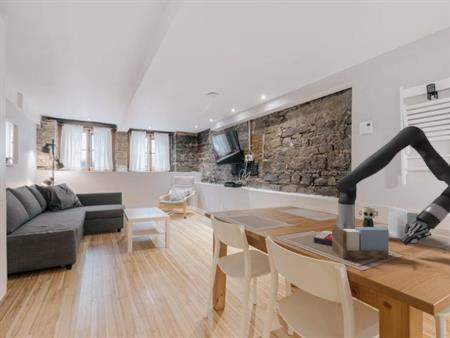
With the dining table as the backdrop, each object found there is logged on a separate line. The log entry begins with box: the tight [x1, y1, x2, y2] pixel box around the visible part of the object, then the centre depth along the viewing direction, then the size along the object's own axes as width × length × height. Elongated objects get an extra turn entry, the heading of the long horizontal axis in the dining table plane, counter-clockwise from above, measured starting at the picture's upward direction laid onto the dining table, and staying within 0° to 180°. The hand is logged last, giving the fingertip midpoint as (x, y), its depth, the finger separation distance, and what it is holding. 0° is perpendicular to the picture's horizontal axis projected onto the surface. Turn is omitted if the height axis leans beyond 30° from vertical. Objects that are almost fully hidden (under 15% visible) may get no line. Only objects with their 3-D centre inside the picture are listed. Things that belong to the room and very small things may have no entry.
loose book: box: [355, 226, 390, 256], centre depth 107 cm, size 12×4×12 cm, turn 89°
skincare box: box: [387, 206, 419, 244], centre depth 134 cm, size 21×6×16 cm, turn 168°
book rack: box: [331, 224, 389, 260], centre depth 107 cm, size 20×11×12 cm, turn 88°
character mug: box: [358, 206, 379, 227], centre depth 157 cm, size 11×7×13 cm, turn 61°
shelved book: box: [344, 228, 359, 251], centre depth 108 cm, size 7×4×11 cm, turn 88°
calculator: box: [313, 230, 332, 247], centre depth 127 cm, size 11×4×15 cm
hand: (403, 243), depth 107 cm, fingers closed
